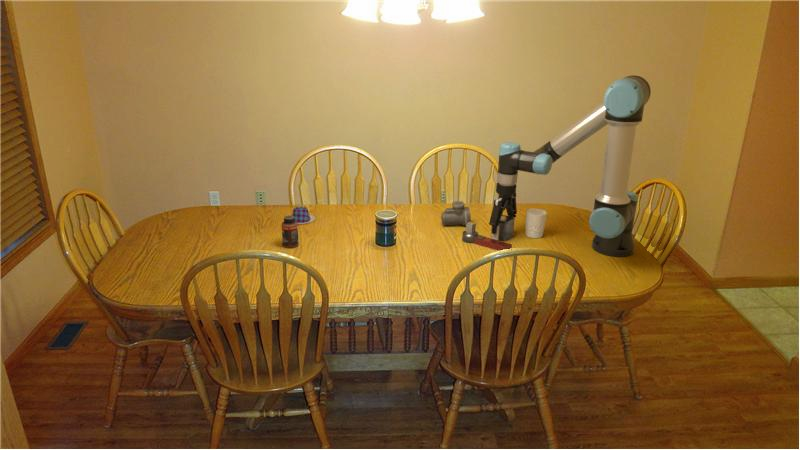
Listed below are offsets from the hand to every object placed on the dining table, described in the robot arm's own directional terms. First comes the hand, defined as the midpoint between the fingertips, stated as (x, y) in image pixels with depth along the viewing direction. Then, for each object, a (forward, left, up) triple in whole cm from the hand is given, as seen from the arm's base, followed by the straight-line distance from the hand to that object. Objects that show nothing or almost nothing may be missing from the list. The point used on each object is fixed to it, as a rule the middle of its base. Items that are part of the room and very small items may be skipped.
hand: (501, 236), depth 231 cm
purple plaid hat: (+74, +38, -1) cm, 83 cm away
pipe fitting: (+21, +1, -1) cm, 21 cm away
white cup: (-9, -10, 0) cm, 14 cm away
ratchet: (+1, +11, 0) cm, 11 cm away
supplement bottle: (+57, +59, 0) cm, 82 cm away
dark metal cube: (0, 0, 0) cm, 0 cm away
